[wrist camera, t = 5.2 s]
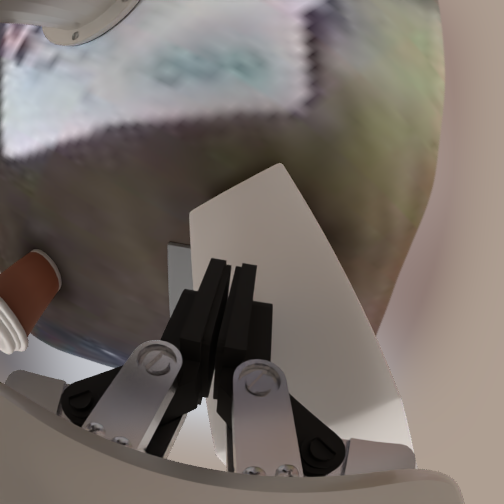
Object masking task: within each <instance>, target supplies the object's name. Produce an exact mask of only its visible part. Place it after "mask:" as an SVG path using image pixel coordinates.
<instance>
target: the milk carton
mask: <svg viewBox="0 0 504 504" xmlns="http://www.w3.org/2000/svg"><path fill="white" fill-rule="evenodd" d="M189 221H190V244H191V262H192V277H193V290H194V291H198V289H199V287H200V284H201V282H202V279H203V277H204V274H205V272H206V270H207V267H208V265H209V262H210V260H211V258H215V259H221V260H226V264H227V265H231V275H230V284H229V292H230V288H231V284H232V280H233V276H234V272H235V268H236V266H240V267H242V263H246V264H252V265H257V271H256V279H255V287H254V295H253V301H258V302H264V303H271V304H273V317H272V343H271V362H272V363H274V364H275V365H277V366H278V367H280V369H281V370H282V371H283V372H284V374H285V377H286V379H287V385H288V390H289V393H290V394H291V395H292V396H293V397H294V398H295V399H296V400H297V401H298V402H300V403H301V404H302V405H303V406H304V407H305V408H306V409H308V410H309V411H310V412H311V413H312V414H313V415H314V416H316V417H317V418H318V419H319V420H320V421H322V422H323V423H324V424H325V425H326V426H327V427H329V428H330V429H331V430H332V431H334V432H335V433H336V434H337V435H338V436H339V437H340V438H341V439H346V440H349V439H350V438H355V439H361V440H368V441H376V442H385V443H395V444H403V445H406V446H408V447H409V448H410V449H412V451H413V445H412V441H411V436H410V431H409V427H408V423H407V418H406V414H405V410H404V406H403V402H402V399H401V396H400V394H399V391H398V389H397V386H396V384H395V381H394V378H393V376H392V374H391V371H390V369H389V366H388V364H387V362H386V359H385V357H384V354H383V352H382V350H381V348H380V345H379V343H378V341H377V338H376V336H375V334H374V332H373V329H372V327H371V325H370V323H369V321H368V319H367V317H366V314H365V312H364V310H363V308H362V306H361V304H360V302H359V300H358V298H357V296H356V294H355V292H354V290H353V288H352V286H351V284H350V282H349V280H348V278H347V276H346V274H345V272H344V270H343V268H342V266H341V264H340V262H339V260H338V258H337V257H336V255H335V253H334V251H333V249H332V247H331V245H330V244H329V242H328V240H327V238H326V236H325V234H324V233H323V231H322V229H321V227H320V226H319V224H318V222H317V220H316V218H315V217H314V215H313V213H312V212H311V210H310V208H309V206H308V205H307V203H306V201H305V200H304V198H303V196H302V195H301V193H300V191H299V190H298V188H297V186H296V185H295V183H294V181H293V180H292V178H291V176H290V175H289V173H288V172H287V170H286V168H285V167H284V165H283V164H282V163H278V164H276V165H274V166H272V167H270V168H268V169H266V170H264V171H262V172H260V173H258V174H256V175H254V176H252V177H250V178H249V179H247V180H245V181H243V182H241V183H239V184H237V185H236V186H234V187H232V188H230V189H228V190H227V191H225V192H223V193H221V194H219V195H218V196H216V197H214V198H212V199H211V200H209V201H207V202H205V203H204V204H202V205H200V206H199V207H197V208H195V209H194V210H192V211H191V212H190V214H189ZM228 296H229V293H228ZM214 373H215V370H214ZM213 388H214V374H213V379H212V383H211V388H210V392H209V396H208V398H206V403H207V409H208V415H209V422H210V427H211V433H212V438H213V443H214V448H215V452H216V456H217V457H218V458H219V459H220V460H221V461H222V462H223V463H224V464H225V465H226V437H225V424H226V423H225V422H224V420H223V419H222V418H221V417H220V416H219V415H218V413H217V412H216V410H217V400H216V399H213ZM413 453H414V451H413ZM415 469H418V467H417V463H416V464H415Z"/></svg>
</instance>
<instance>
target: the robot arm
mask: <svg viewBox="0 0 504 504" xmlns="http://www.w3.org/2000/svg"><path fill="white" fill-rule="evenodd" d="M138 1H139V0H0V23H13V24H26V25H35V26H42V29H43V32H44V34H45V37H46V38H47V39H48V40H49V41H50V42H52V43H54V44H56V45H62V46H75V45H80V44H83V43H86V42H88V41H91V40H93V39H95V38H96V37H98V36H100V35H102V34H103V33H105V32H106V31H108V30H109V29H110V28H112V27H113V26H115V25H116V24H117V23H118V22H119V21H120V20H121V19H123V18H124V17H125V16H126V15H127V14H128V13H129V12H130V11H131V10H132V8H133V7H134V6H135V5H136V4H137V3H138ZM256 271H257V265H252V264H246V263H242V267H240V266H236V268H235V272H234V276H233V280H232V284H231V288H230V292H229V284H230V275H231V265H227V264H226V260H221V259H215V258H211V260H210V262H209V265H208V267H207V270H206V272H205V274H204V277H203V279H202V282H201V284H200V287H199V289H198V291H194V290H189V289H184V290H183V292H182V294H181V296H180V298H179V300H178V302H177V305H176V307H175V309H174V311H173V313H172V315H171V318H170V320H169V322H168V324H167V326H166V329H165V331H164V333H163V335H162V338H161V340H152V341H148V342H145V343H143V344H141V345H139V346H138V347H137V348H136V349H135V350H134V352H133V353H132V354H131V356H130V357H129V359H128V360H127V361H126V363H125V364H124V365H123V366H120V367H117V368H115V369H112V370H109V371H106V372H104V373H101V374H98V375H95V376H92V377H89V378H86V379H83V380H80V381H77V382H74V383H73V384H66V382H65V381H63V380H59V379H54V378H50V377H46V376H42V375H38V374H35V373H31V372H27V371H24V370H17V371H14V372H12V373H11V374H10V375H9V376H8V378H7V380H6V382H5V384H3V383H1V382H0V504H465V503H464V499H463V496H462V493H461V490H460V488H459V486H458V484H457V483H456V481H455V480H454V479H453V478H451V477H450V476H448V475H446V474H443V473H441V472H437V471H432V470H425V469H415V464H416V460H415V454H414V453H413V451H412V449H410V448H409V447H408V446H406V445H403V444H395V443H385V442H376V441H368V440H361V439H355V438H350V439H349V440H346V439H341V438H340V437H339V436H338V435H337V434H336V433H335V432H334V431H332V430H331V429H330V428H329V427H327V426H326V425H325V424H324V423H323V422H322V421H320V420H319V419H318V418H317V417H316V416H314V415H313V414H312V413H311V412H310V411H309V410H308V409H306V408H305V407H304V406H303V405H302V404H301V403H300V402H298V401H297V400H296V399H295V398H294V397H293V396H292V395H291V394H290V393H289V390H288V385H287V379H286V377H285V374H284V372H283V371H282V370H281V369H280V367H278V366H277V365H275V364H274V363H272V362H271V343H272V317H273V304H271V303H264V302H258V301H253V295H254V287H255V279H256ZM228 293H229V296H228ZM214 370H215V373H214ZM213 374H214V388H213V399H216V400H217V410H216V412H217V413H218V415H219V416H220V417H221V418H222V419H223V420H224V422H225V423H226V424H225V437H226V468H227V469H226V472H225V471H219V470H213V469H207V468H202V467H197V466H192V465H188V464H183V463H179V462H175V461H171V460H167V457H168V455H169V453H170V451H171V449H172V446H173V445H174V442H175V440H176V438H177V436H178V434H179V432H180V429H181V427H182V425H183V423H184V421H185V418H186V416H187V413H188V412H190V411H192V410H194V409H196V408H197V405H198V404H199V405H201V401H202V397H206V398H208V396H209V392H210V388H211V383H212V379H213Z"/></svg>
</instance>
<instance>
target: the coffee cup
mask: <svg viewBox="0 0 504 504" xmlns="http://www.w3.org/2000/svg"><path fill="white" fill-rule="evenodd" d="M61 285H62V280H61V275H60V272H59V270H58V267H57V266H56V264H55V263H54V261H53V260H52V259H51V258H50V257H49V256H48V255H47V254H46V253H45V252H43V251H41V250H39V249H33V250H32V251H31V252H30V253H28V254H27V255H25V256H24V257H23V258H21V259H20V260H18V261H17V262H16V263H14V264H13V265H12V266H10V267H9V268H8V269H6V270H5V271H4V272H2V273H1V274H0V350H1V351H2V352H4V353H6V354H12V353H13V351H17V350H18V351H24V350H26V349H27V347H28V338H27V337H28V335H29V334H30V332H31V331H32V329H33V327H34V326H35V324H36V323H37V321H38V320H39V318H40V317H41V315H42V313H43V312H44V311H45V309H46V308H47V306H48V305H49V303H50V302H51V300H52V299H53V298H54V296H55V295H56V293H57V292H58V291H59V290H60V288H61Z"/></svg>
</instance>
